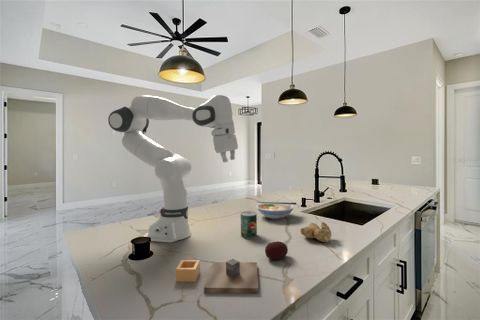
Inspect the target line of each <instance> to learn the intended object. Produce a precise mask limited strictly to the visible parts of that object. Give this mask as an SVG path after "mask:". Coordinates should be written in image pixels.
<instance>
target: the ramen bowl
mask: <svg viewBox="0 0 480 320" xmlns="http://www.w3.org/2000/svg"><path fill="white" fill-rule="evenodd" d="M257 203H258V204H256V208H257V211H259V213H260V214H261V215H262V216H264V217H267V218H269V219H271V220H280V219H283V218H286V217H288V215H290V214H291V213H292V211H293V210H294V208H295V206H294V205H297V202H283V201H282V202H281V201H280V202H279V201H264V202H263V201H258V202H257Z"/></svg>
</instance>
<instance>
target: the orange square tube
mask: <svg viewBox="0 0 480 320" xmlns="http://www.w3.org/2000/svg"><path fill="white" fill-rule="evenodd" d="M200 273H201V260H198V259H181V260H180V262H179V264H178V265H177V267H175V281H176V282H181V283H182V282H183V283H184V282H187V283H188V282H193V283H194V282H197V280H198V278H199V275H200Z"/></svg>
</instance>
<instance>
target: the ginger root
mask: <svg viewBox="0 0 480 320" xmlns="http://www.w3.org/2000/svg"><path fill="white" fill-rule="evenodd" d="M320 223H321V224H320V226H318V224H317V223H314V222H310V224H308V226H306V227H304V226H303V227H301V228H300V231H299V232H300V234H301V235H302V236H304V237H305V238H307V239H316V240H317V241H320V242H322V243H328V242H329V241H330V239H331V238H332V235H333V234H332V230H331V229H330V227H329V225H328V224H327V223H326V222H324V221H322V222H320Z"/></svg>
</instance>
